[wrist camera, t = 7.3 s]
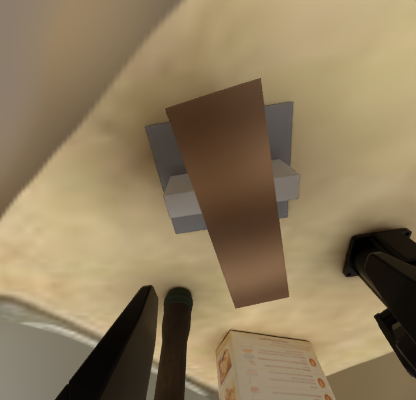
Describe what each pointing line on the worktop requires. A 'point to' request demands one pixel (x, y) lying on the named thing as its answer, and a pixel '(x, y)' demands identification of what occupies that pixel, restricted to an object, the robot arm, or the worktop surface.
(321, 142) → the worktop surface
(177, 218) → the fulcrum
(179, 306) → the potato masher grenade
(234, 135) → the plank
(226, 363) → the coffeecake box
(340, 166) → the worktop surface
